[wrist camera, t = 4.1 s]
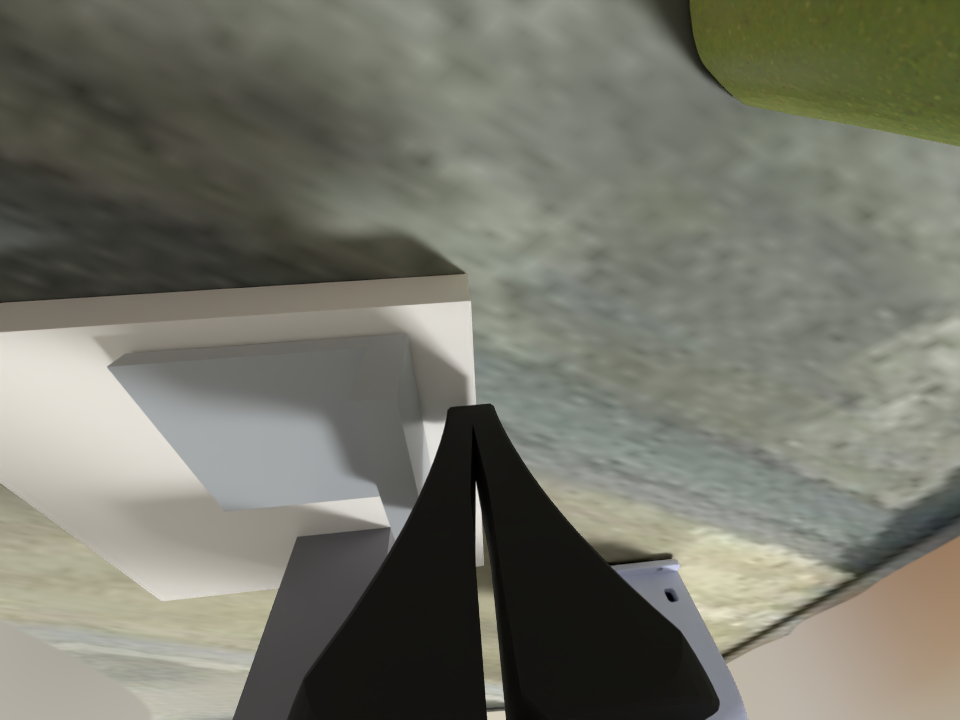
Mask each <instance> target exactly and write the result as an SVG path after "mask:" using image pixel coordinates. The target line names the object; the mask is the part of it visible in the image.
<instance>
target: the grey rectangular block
mask: <svg viewBox="0 0 960 720" xmlns="http://www.w3.org/2000/svg"><path fill="white" fill-rule="evenodd" d="M394 543H395V539H394V536H393V533H392V530H391V527H388V528H378V529H368V530H358V531H349V532H339V533H329V534H319V535H310V536H300V537H297V539H296V541H295V544H294V547H293V550H292V553H291V556H290V558H289V561H288V564H287V567H286V570H285V573H284V576H283V578H282V581H281V584H280V587H279V590H278V593H277V595H276V598H275V601H274V604H273V607H272V610H271V612H270V615H269V618H268V621H267V624H266V627H265V629H264V632H263V635H262V638H261V641H260V644H259V646H258V649H257V652H256V655H255V658H254V661H253V663H252V666H251V669H250V672H249V675H248V678H247V680H246V683H245V686H244V689H243V692H242V695H241V697H240V700H239V703H238V706H237V709H236V712H235V714H234V717H233V720H287V718H288V715H289V712H290V710H291V707H292V704H293V702H294V699H295V697H296V695H297V692H298V690H299V687H300V685H301V683H302V680H303V678H304V676H305V675H306V673H307V672H308V670H309V669H310V668H311V666H312V665H313V663H314V662H315V661H316V659H317V658H318V657H319V655H320V654H321V652H322V651H323V650H324V648H325V647H326V646H327V644H328V643H329V642H330V640H331V639H332V637H333V636H334V635H335V633H336V632H337V631H338V629H339V628H340V626H341V625H342V624H343V622H344V621H345V620H346V618H347V617H348V615H349V614H350V612H351V611H352V609H353V608H354V606H355V605H356V603H357V602H358V600H359V599H360V597H361V596H362V594H363V593H364V591H365V590H366V588H367V587H368V585H369V583H370V582H371V580H372V579H373V577H374V576H375V574H376V573H377V571H378V570H379V568H380V566H381V565H382V563H383V561H384V560H385V558H386V556H387V555H388V553H389V551H390V550H391V548H392V546H393V544H394Z"/></svg>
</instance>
